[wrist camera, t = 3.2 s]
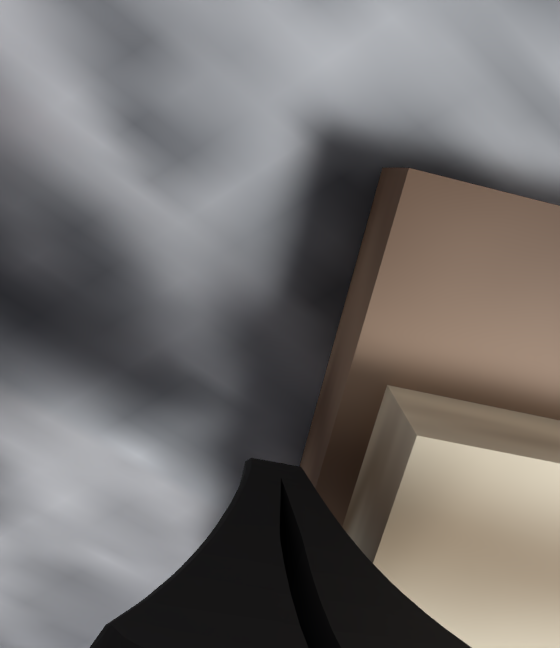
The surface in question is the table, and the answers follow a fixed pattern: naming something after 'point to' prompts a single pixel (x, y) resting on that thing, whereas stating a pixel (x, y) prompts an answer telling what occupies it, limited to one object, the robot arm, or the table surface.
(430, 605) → the birch tile
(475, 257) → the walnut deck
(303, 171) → the table surface
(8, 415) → the table surface
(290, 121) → the table surface
